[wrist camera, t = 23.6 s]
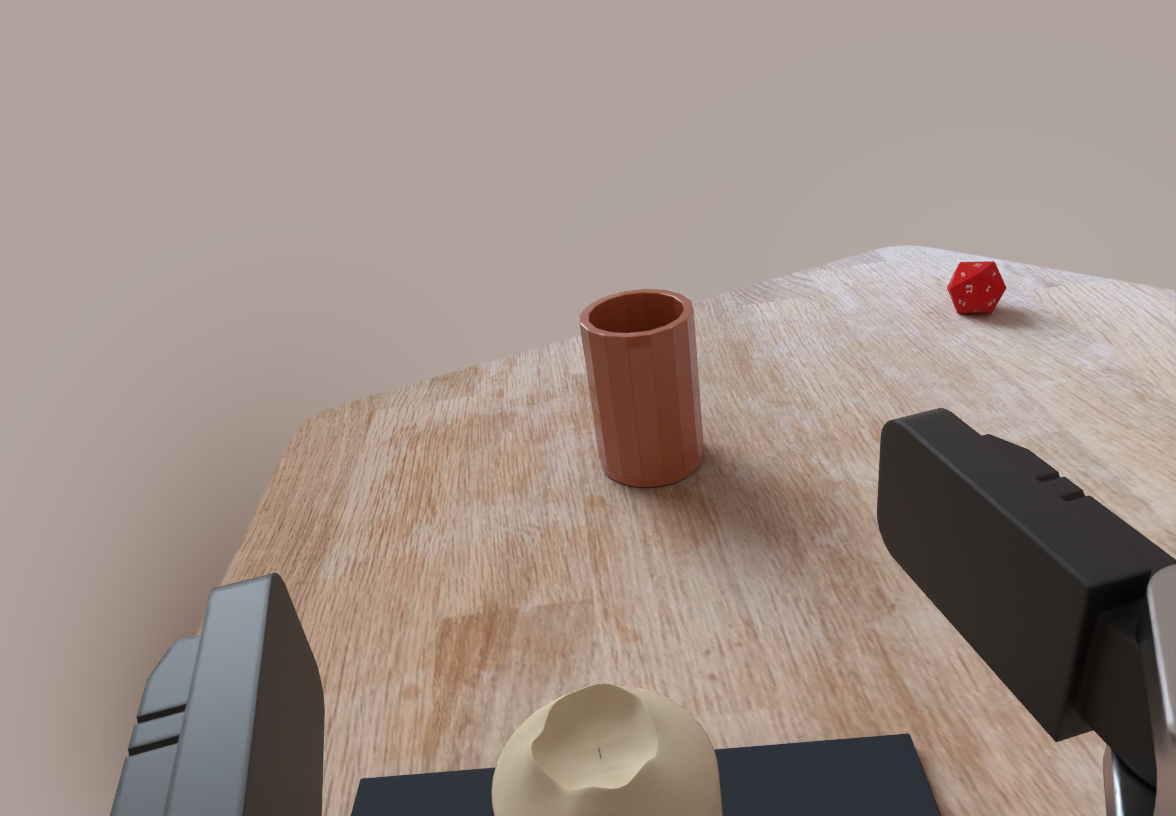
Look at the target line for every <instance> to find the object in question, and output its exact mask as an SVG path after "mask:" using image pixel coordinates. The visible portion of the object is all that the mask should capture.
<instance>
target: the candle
mask: <svg viewBox="0 0 1176 816" xmlns="http://www.w3.org/2000/svg"><path fill="white" fill-rule="evenodd" d="M492 805H493V810H494V815H495V816H723V815H722V803H721V792H720V780H719V770H718V764H717V758H716V754H715V751H714V748H713V745H712V743H711V741H710V739H709V737H708V735H707V733H706V732H705V730H704V729H703V728H702V726H701V725H700V723H699V722H698V721H697V720H696V719H695V718H694V717H693V716H692V715H691V714H690V713H689V712H688V711H687V710H685V709H684V708H683V707H682V706H680V705H679V704H677V703H676V702H674V701H673V700H671V699H669V698H667V697H665V696H663V695H661V694H658V693H655V692H652V691H649V690H646V689H641V688H637V687H630V686H621V685H614V684H609V683H597V684H593V685H590V686H587V687H584V688H582V689H579V690H576V691H574V692H571V693H569V694H566V695H564V696H561V697H559V698H557V699H555V700H553V701H552V702H550V703H548V704H546V705H545V706H543V707H542V708H540V709H539V710H537V711H536V712H534V713H533V714H532V715H531V716H530V717H529V718H527V719H526V720H525V721H524V722H523V723H522V724H521V725H520V726H519V728H518V729H517V730H516V731H515V732H514V733H513V735H512V736H511V738H510V739H509V740H508V742H507V743H506V745H505V747H504V749H503V751H502V752H501V755H500V757H499V760H498V762H497V765H496V768H495V772H494V776H493V784H492Z"/></svg>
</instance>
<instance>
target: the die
mask: <svg viewBox="0 0 1176 816" xmlns="http://www.w3.org/2000/svg"><path fill="white" fill-rule="evenodd" d="M947 289H948V291H949V294H950V296H951V299H952V301H953V304H954V306H955V308H956V311H957V313H992V312H993V310H994V309H995V307H996V305H997V303H998V302H999V300H1000V298H1001V297H1002V295H1003V293H1004V291H1005V290H1006V286H1005V284H1004V281H1003V279H1002V277H1001V275H1000V273H999V270H998V268H997V266H996V264H995V262H960V263H959V265H958V267H957V269H956V271H955V273H954V275H953V277H952V279H951V281H950V282H949V284H948V286H947Z"/></svg>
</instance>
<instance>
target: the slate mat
mask: <svg viewBox="0 0 1176 816" xmlns="http://www.w3.org/2000/svg"><path fill="white" fill-rule="evenodd" d="M714 751H715V754H716V758H717V764H718V770H719V780H720V792H721V803H722V815H723V816H941V815H940V812H939V809H938V807H937V804H936V802H935V799H934V796H933V794H932V791H931V789H930V786H929V783H928V781H927V778H926V776H925V773H924V770H923V768H922V765H921V763H920V760H919V757H918V755H917V752H916V750H915V747H914V744H913V742H912V739H911V737H910V735H909V734H898V735H886V736H874V737H862V738H850V739H837V740H825V741H813V742H801V743H789V744H777V745H765V746H753V747H740V748H728V749H716V750H714ZM494 772H495V768H486V769H473V770H461V771H449V772H437V773H425V774H413V775H401V776H389V777H376V778H364V779H361V780H360V783H359V787H358V791H357V795H356V798H355V802H354V806H353V810H352V814H351V816H495V815H494V810H493V805H492V784H493V776H494Z"/></svg>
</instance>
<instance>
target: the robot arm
mask: <svg viewBox="0 0 1176 816" xmlns="http://www.w3.org/2000/svg"><path fill="white" fill-rule="evenodd" d="M877 519H878V525H879V529H880V533H881V536H882V539H883V541H884V543H885V545H886V547H887V549H888V551H889V553H890V554H891V556H892V557H893V558H894V559H895V560H896V562H897V563H898V564H899V565H900V566H901V567H902V568H903V570H904V571H905V572H906V573H907V574H908V575H909V576H910V577H911V579H912V580H913V581H914V582H915V583H916V584H917V585H918V587H919V588H920V589H921V590H922V591H923V592H924V593H925V594H926V596H927V597H928V598H929V599H930V600H931V601H932V602H933V603H934V605H935V606H936V607H937V608H938V609H939V610H940V611H941V613H942V614H943V615H944V616H945V617H946V618H947V619H948V620H949V622H950V623H951V624H952V625H953V626H954V627H955V628H956V630H957V631H958V632H959V633H960V634H961V635H962V636H963V637H964V639H965V640H966V641H967V642H968V643H969V644H970V645H971V646H972V648H973V649H974V650H975V651H976V652H977V653H978V654H979V656H980V657H981V658H982V659H983V660H984V661H985V662H986V663H987V665H988V666H989V667H990V668H991V669H992V670H993V671H994V673H995V674H996V675H997V676H998V677H999V678H1000V679H1001V680H1002V682H1003V683H1004V684H1005V685H1006V686H1007V687H1008V688H1009V690H1010V691H1011V692H1012V693H1013V694H1014V695H1015V696H1016V697H1017V699H1018V700H1019V701H1020V702H1021V703H1022V704H1023V705H1024V706H1025V708H1026V709H1027V710H1028V711H1029V712H1030V713H1031V714H1032V716H1033V717H1034V718H1035V719H1036V720H1037V721H1038V722H1039V723H1040V725H1041V726H1042V727H1043V728H1044V729H1045V730H1046V731H1047V733H1048V734H1049V735H1050V736H1051V737H1052V738H1053V739H1054V740H1055V742H1058V741H1062V740H1065V739H1068V738H1071V737H1074V736H1077V735H1080V734H1083V733H1087V732H1090V731H1093V730H1094V731H1095V732H1096V733H1097V734H1098V735H1099V736H1100V737H1101V738H1102V739H1103V740H1104V742H1105V743H1106V744H1107V745H1106V749H1105V753H1104V756H1103V776H1104V789H1105V802H1106V815H1107V816H1176V560H1175V559H1174V558H1173V557H1171V556H1170V555H1169V554H1167V553H1166V552H1165V551H1163V550H1162V549H1161V548H1159V547H1158V546H1157V545H1155V544H1154V543H1153V542H1151V541H1150V540H1149V539H1147V538H1146V537H1145V536H1143V535H1142V534H1141V533H1139V532H1138V531H1137V530H1135V529H1134V528H1133V527H1131V526H1130V525H1129V524H1127V523H1126V522H1125V521H1123V520H1122V519H1121V518H1119V517H1118V516H1117V515H1115V514H1114V513H1113V512H1111V511H1110V510H1109V509H1107V508H1106V507H1105V506H1103V505H1102V504H1101V503H1099V502H1098V501H1097V500H1095V499H1094V498H1093V497H1091V496H1085V495H1084V493H1083V490H1082V489H1080V488H1079V487H1078V486H1076V485H1075V484H1074V483H1072V482H1071V481H1070V480H1068V479H1067V478H1066V477H1060V476H1059V472H1058V471H1056V470H1055V469H1054V468H1052V467H1051V466H1050V465H1048V464H1047V463H1046V462H1044V461H1043V460H1042V459H1040V458H1039V457H1038V456H1036V455H1035V454H1034V453H1032V452H1031V451H1030V450H1028V449H1026V448H1023V447H1021V446H1018V445H1015V444H1013V443H1010V442H1008V441H1005V440H1003V439H1000V438H998V437H995V436H993V435H990V434H987V435H983V436H981V435H980V434H979V433H977V432H976V431H975V430H974V429H972V428H971V427H970V426H968V425H967V424H966V423H965V422H963V421H962V420H961V419H959V418H958V417H957V416H956V415H954V414H953V413H952V412H950V411H949V410H947V409H944V408H938V409H934V410H930V411H926V412H922V413H918V414H914V415H910V416H906V417H902V418H898V419H894V420H890V421H888V422H886V424H885V425H884V427H883V429H882V433H881V443H880V463H879V483H878V502H877ZM324 716H325V709H324V696H323V689H322V683H321V679H320V674H319V670H318V667H317V664H316V661H315V658H314V656H313V653H312V651H311V648H310V646H309V643H308V641H307V638H306V636H305V633H304V631H303V628H302V626H301V623H300V621H299V618H298V616H297V613H296V611H295V608H294V606H293V603H292V601H291V598H290V596H289V593H288V591H287V588H286V586H285V583H284V581H283V580H282V578H281V577H280V575H279V574H278V573H273V574H269V575H265V576H261V577H257V578H253V579H249V580H245V581H241V582H237V583H233V584H229V585H225V586H221V587H217V588H214V589H213V590H212V591H211V593H210V595H209V599H208V604H207V608H206V613H205V618H204V623H203V627H202V632H201V635H199V636H195V637H192V638H188V639H184V640H180V641H176V642H174V643H173V644H172V646H171V647H170V648H169V650H168V651H167V652H166V654H165V655H164V656H163V658H162V659H161V661H160V662H159V663H158V665H157V666H156V668H155V669H154V670H153V672H152V673H151V674H150V676H149V677H148V679H147V681H146V684H145V688H144V692H143V695H142V699H141V703H140V706H139V710H138V714H137V721H138V724H137V725H134V728H133V732H132V736H131V740H130V743H129V747H128V751H129V757H126V758H125V761H124V765H123V769H122V772H121V776H120V780H119V784H118V788H117V791H116V795H115V798H114V802H113V806H112V809H111V813H110V816H322V783H323V749H324Z"/></svg>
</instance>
